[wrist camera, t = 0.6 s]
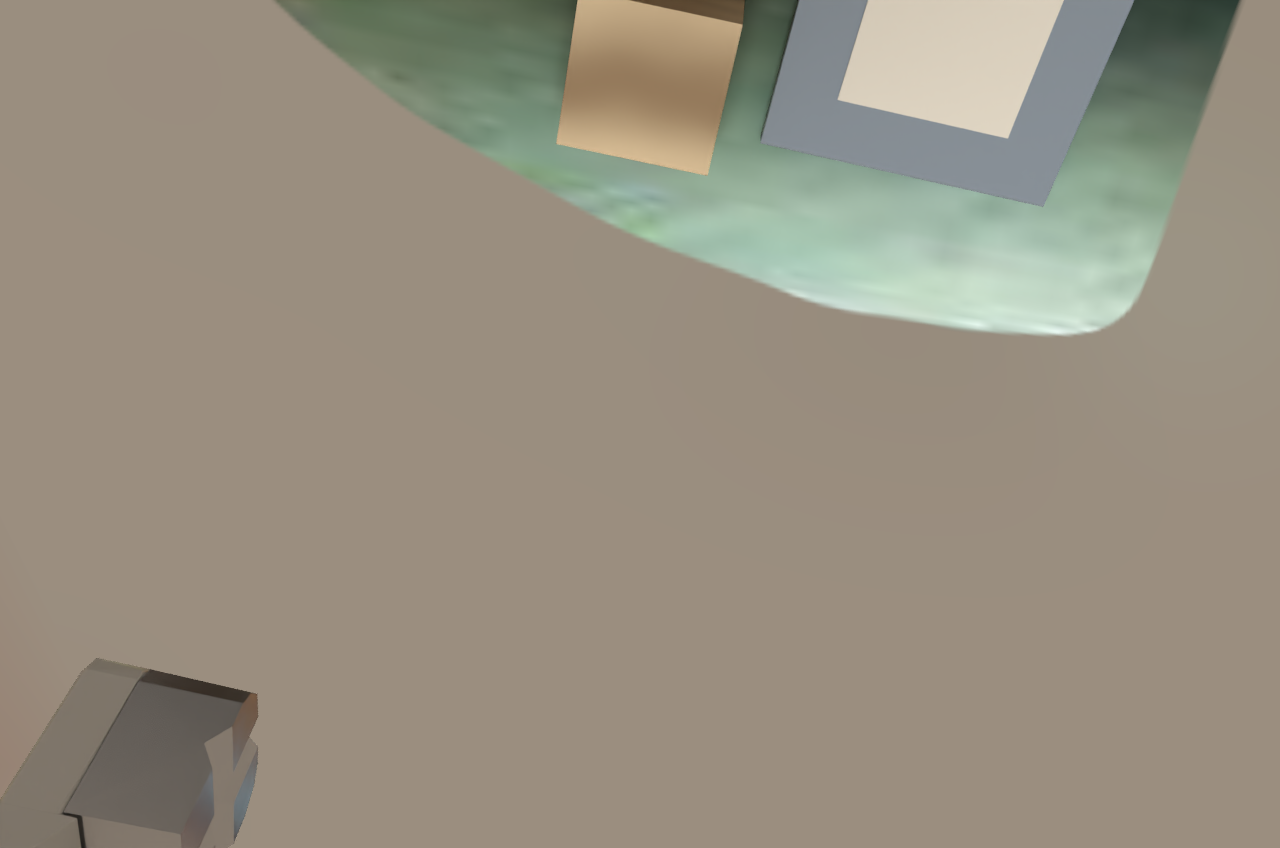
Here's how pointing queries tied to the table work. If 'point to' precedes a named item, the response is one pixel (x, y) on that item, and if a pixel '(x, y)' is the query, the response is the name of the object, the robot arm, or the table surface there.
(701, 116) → the oak block
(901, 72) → the plate
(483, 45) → the table surface
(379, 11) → the table surface
